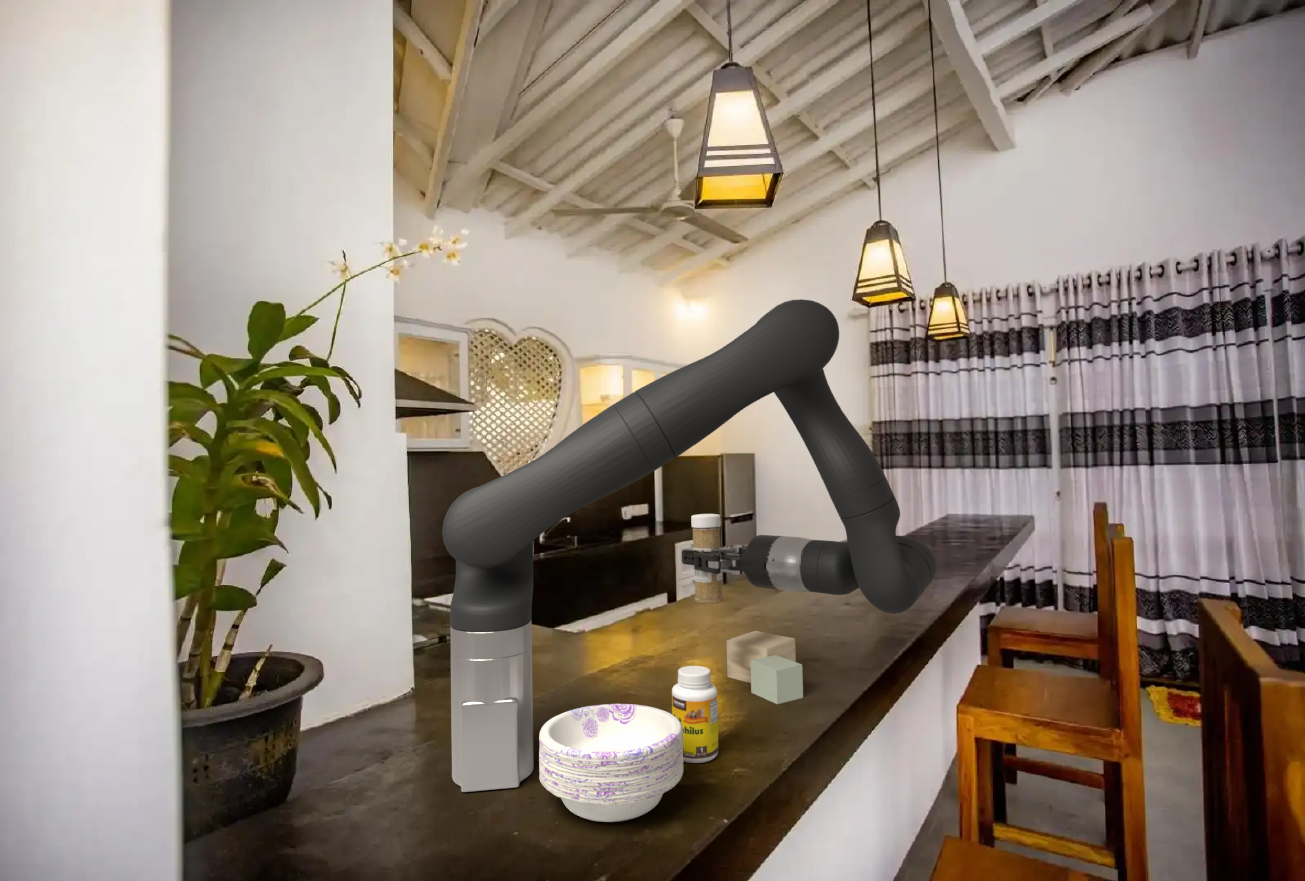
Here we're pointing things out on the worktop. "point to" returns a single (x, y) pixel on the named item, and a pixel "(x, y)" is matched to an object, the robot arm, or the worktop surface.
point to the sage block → (776, 679)
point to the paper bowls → (611, 759)
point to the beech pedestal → (755, 652)
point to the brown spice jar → (707, 540)
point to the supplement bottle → (696, 713)
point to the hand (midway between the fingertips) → (694, 554)
